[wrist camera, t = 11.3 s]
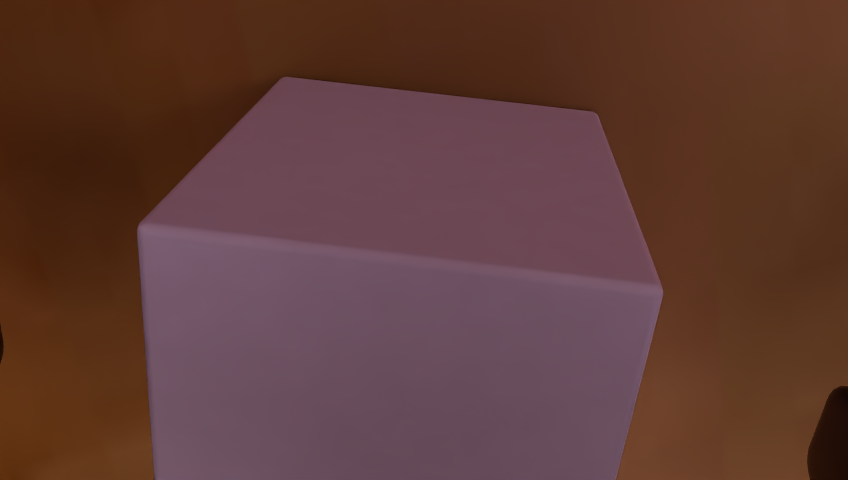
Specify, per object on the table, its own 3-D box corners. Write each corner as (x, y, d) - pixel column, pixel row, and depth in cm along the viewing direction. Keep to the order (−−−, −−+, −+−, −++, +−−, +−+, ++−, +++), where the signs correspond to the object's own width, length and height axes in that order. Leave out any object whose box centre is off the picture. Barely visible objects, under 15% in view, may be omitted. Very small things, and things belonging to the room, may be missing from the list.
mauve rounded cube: (598, 110, 11) (669, 289, 6) (547, 376, 12) (572, 656, 8) (280, 74, 11) (131, 223, 6) (276, 341, 12) (159, 599, 8)
